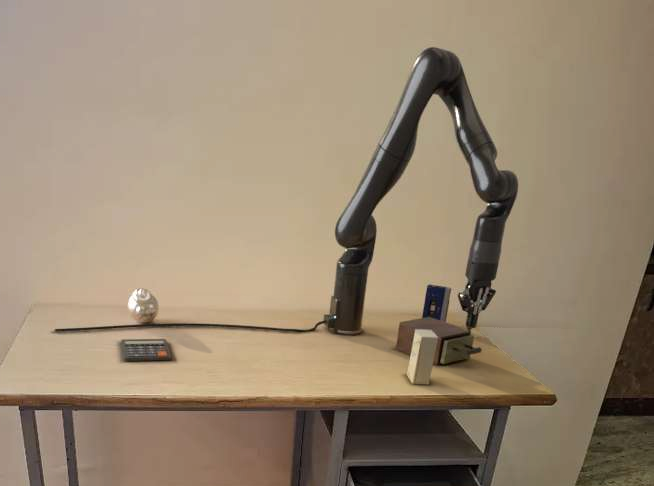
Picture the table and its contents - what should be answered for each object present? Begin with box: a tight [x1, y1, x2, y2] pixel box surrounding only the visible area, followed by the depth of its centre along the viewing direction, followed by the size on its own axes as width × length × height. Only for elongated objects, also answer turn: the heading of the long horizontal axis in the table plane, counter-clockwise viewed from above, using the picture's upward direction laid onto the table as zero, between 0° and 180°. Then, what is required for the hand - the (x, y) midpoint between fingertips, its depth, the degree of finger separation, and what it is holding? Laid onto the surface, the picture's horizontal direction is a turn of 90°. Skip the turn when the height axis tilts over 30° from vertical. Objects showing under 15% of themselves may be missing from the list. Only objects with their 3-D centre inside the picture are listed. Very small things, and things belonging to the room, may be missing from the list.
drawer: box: [439, 334, 482, 365], centre depth 190 cm, size 19×11×6 cm, turn 38°
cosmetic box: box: [406, 329, 438, 385], centre depth 173 cm, size 6×4×12 cm
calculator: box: [120, 338, 172, 362], centre depth 182 cm, size 12×1×15 cm
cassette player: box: [421, 284, 452, 323], centre depth 218 cm, size 7×2×12 cm, turn 67°
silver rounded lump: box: [127, 287, 160, 324], centre depth 201 cm, size 9×10×10 cm
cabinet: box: [395, 317, 472, 366], centre depth 193 cm, size 15×12×8 cm
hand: (470, 327), depth 182 cm, fingers closed
